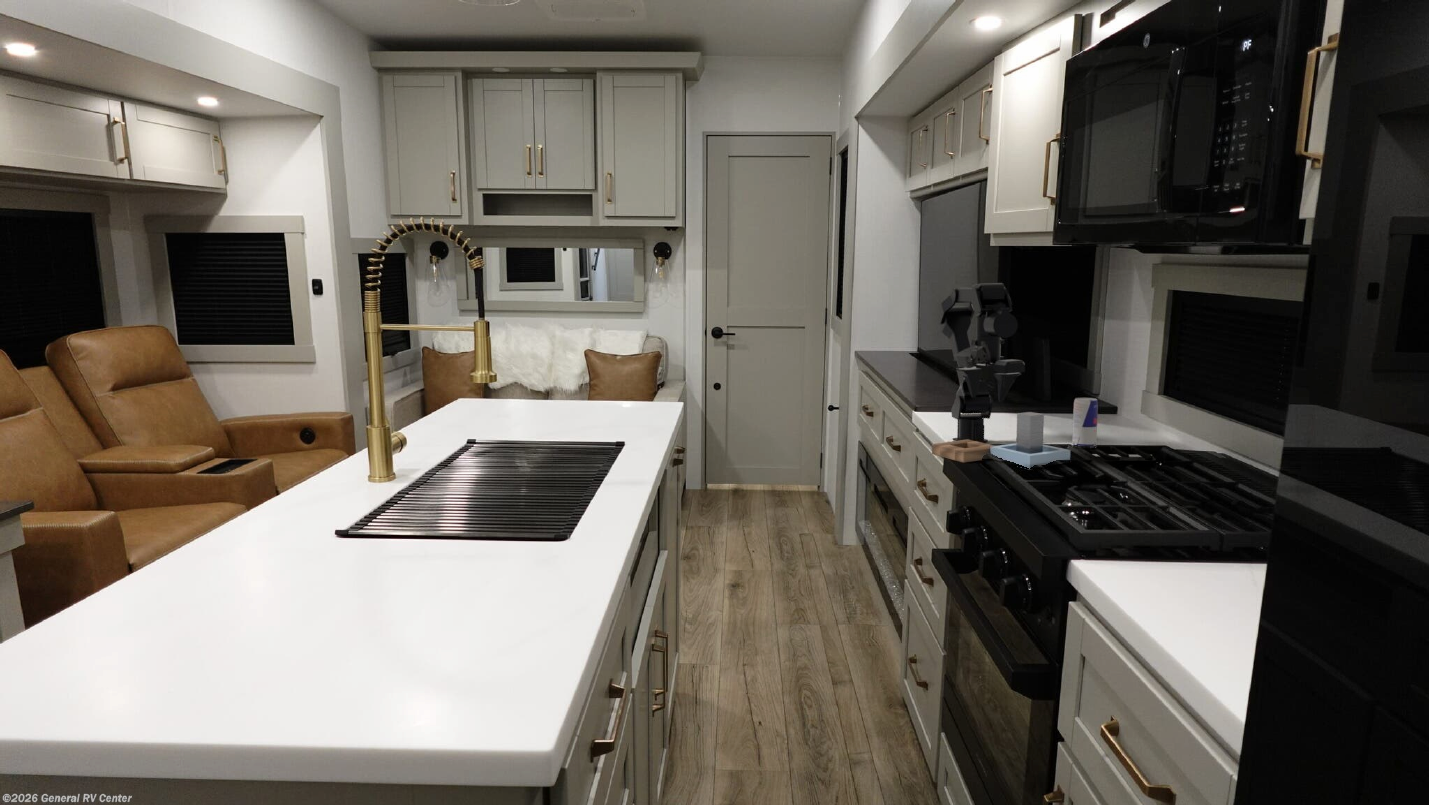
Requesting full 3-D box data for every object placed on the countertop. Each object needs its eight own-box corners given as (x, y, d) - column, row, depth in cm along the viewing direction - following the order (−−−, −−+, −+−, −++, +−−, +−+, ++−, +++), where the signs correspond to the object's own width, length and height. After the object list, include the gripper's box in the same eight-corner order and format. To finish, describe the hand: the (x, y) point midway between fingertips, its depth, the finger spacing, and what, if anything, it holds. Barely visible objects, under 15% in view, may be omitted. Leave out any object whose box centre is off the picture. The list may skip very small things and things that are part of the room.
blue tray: (990, 459, 184) (990, 446, 183) (1029, 453, 188) (1029, 441, 188) (1029, 469, 173) (1030, 455, 172) (1069, 463, 177) (1070, 450, 177)
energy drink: (1100, 449, 191) (1102, 400, 190) (1077, 449, 192) (1079, 400, 190) (1090, 444, 197) (1092, 397, 195) (1068, 445, 197) (1070, 397, 195)
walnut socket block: (932, 454, 191) (932, 443, 191) (967, 449, 195) (967, 439, 195) (963, 462, 181) (963, 451, 181) (1000, 457, 185) (1000, 446, 185)
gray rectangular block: (1015, 456, 181) (1017, 413, 180) (1029, 454, 183) (1030, 411, 182) (1029, 459, 178) (1030, 415, 176) (1042, 457, 179) (1043, 414, 178)
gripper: (936, 335, 196) (935, 397, 198) (990, 338, 179) (988, 406, 181) (971, 333, 200) (970, 394, 202) (1027, 336, 183) (1025, 402, 185)
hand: (987, 399), depth 193 cm, fingers open, 9 cm apart
